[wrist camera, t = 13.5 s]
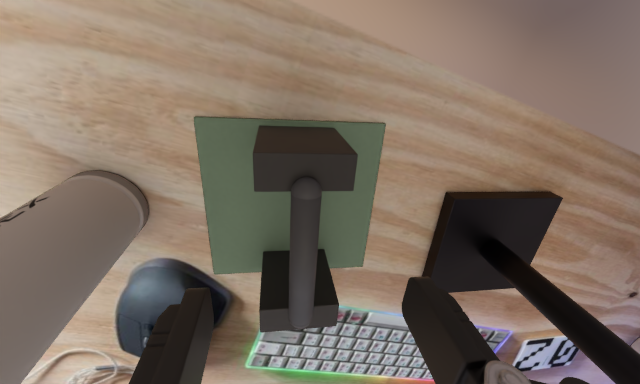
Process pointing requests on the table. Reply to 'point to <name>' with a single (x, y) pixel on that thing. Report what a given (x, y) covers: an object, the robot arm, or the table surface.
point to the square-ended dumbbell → (300, 222)
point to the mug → (636, 345)
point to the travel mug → (59, 260)
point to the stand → (518, 267)
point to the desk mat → (279, 195)
